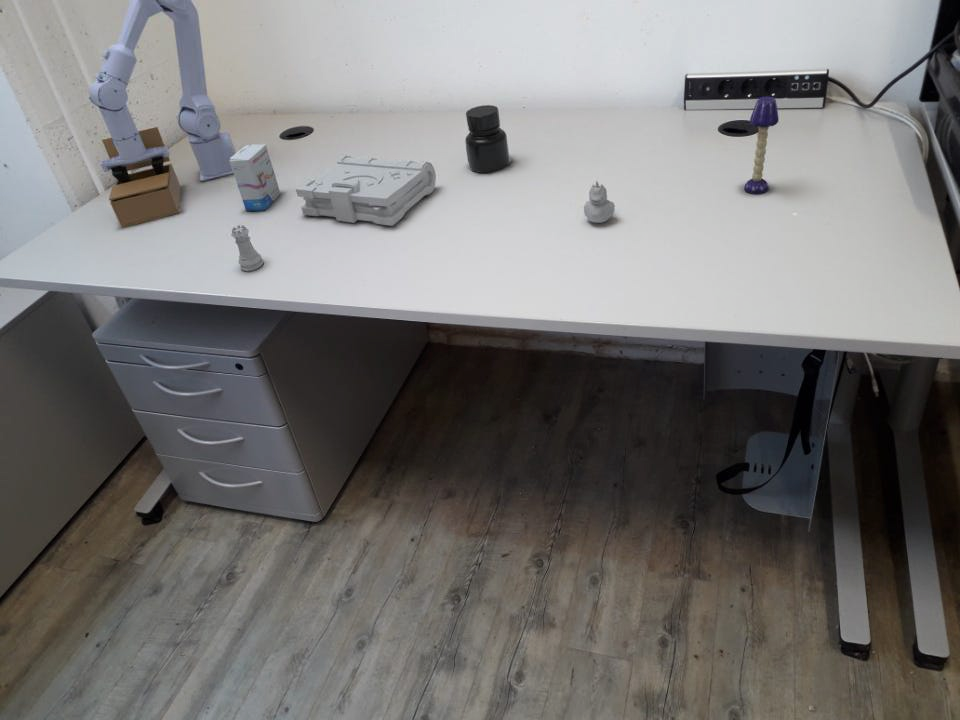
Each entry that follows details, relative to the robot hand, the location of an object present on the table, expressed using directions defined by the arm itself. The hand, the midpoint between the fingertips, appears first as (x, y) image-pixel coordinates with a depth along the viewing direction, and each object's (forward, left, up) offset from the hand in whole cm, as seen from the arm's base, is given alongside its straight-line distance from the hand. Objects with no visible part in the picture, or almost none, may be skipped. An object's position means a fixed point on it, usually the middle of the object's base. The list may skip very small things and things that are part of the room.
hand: (150, 192), depth 175 cm
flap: (0, -5, +9) cm, 10 cm away
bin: (0, +4, -2) cm, 4 cm away
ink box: (-25, +18, -2) cm, 31 cm away
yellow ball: (0, 0, +1) cm, 1 cm away
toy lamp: (-113, +70, -2) cm, 133 cm away
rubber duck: (-84, +65, -2) cm, 106 cm away
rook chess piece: (-21, +47, -2) cm, 51 cm away
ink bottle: (-74, +29, -2) cm, 79 cm away
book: (-45, +31, -2) cm, 55 cm away
